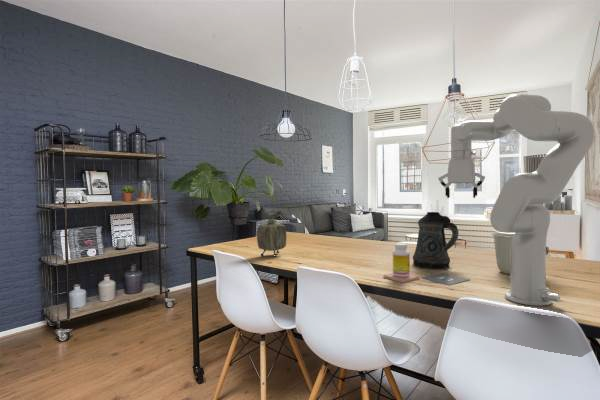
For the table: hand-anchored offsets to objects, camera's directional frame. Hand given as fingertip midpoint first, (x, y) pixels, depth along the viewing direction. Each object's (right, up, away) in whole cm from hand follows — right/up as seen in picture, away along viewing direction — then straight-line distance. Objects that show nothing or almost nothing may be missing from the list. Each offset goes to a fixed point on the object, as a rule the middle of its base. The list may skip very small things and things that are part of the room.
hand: (461, 197), depth 143 cm
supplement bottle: (-25, -32, 0) cm, 40 cm away
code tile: (-8, -33, -3) cm, 34 cm away
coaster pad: (-24, -33, 0) cm, 41 cm away
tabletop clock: (-81, -32, +51) cm, 101 cm away
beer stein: (-3, -32, +22) cm, 39 cm away
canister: (+25, -32, +5) cm, 41 cm away
